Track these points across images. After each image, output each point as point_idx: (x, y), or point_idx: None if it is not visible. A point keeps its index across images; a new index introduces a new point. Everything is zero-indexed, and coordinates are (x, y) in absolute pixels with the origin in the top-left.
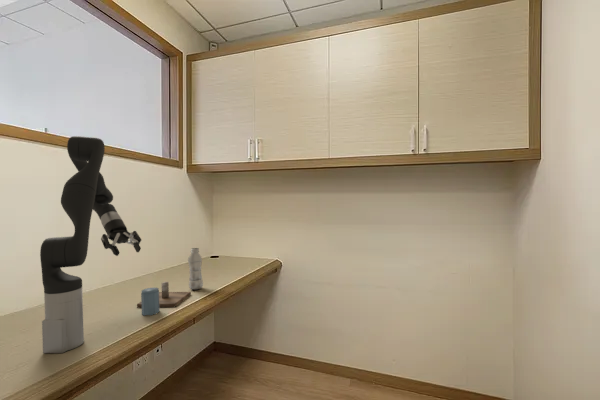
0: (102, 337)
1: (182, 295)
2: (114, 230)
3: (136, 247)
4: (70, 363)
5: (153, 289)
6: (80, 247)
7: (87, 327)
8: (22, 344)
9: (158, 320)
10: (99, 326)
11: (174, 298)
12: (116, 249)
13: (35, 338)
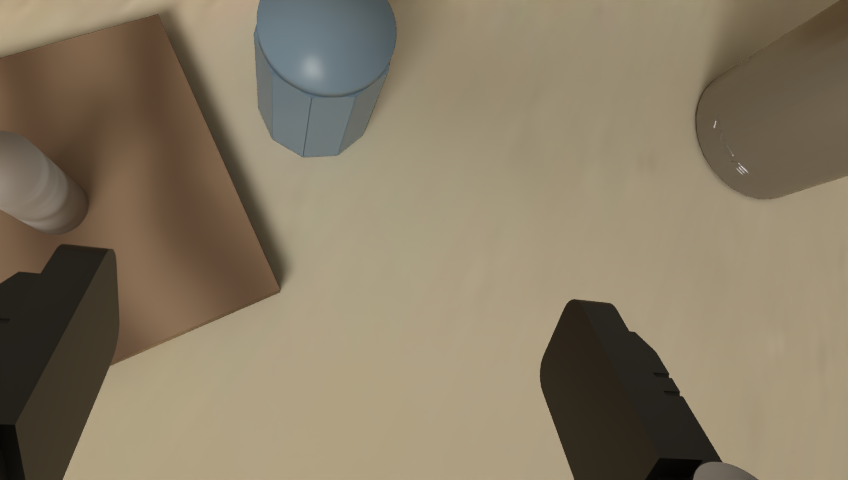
0: (638, 62)
1: None
2: None
3: (76, 357)
4: None
5: (311, 1)
6: None
7: (617, 260)
8: (842, 344)
9: None
10: (580, 209)
11: (54, 106)
12: (641, 358)
13: (796, 367)
